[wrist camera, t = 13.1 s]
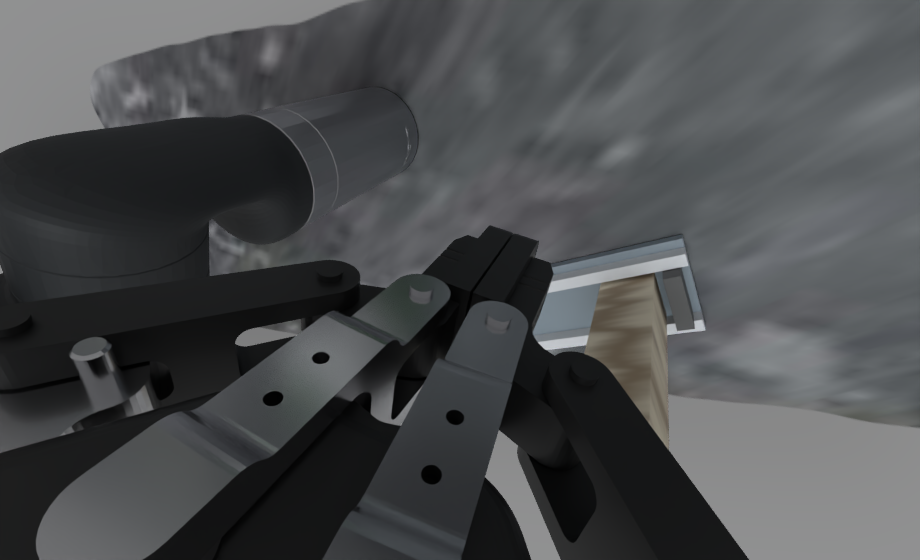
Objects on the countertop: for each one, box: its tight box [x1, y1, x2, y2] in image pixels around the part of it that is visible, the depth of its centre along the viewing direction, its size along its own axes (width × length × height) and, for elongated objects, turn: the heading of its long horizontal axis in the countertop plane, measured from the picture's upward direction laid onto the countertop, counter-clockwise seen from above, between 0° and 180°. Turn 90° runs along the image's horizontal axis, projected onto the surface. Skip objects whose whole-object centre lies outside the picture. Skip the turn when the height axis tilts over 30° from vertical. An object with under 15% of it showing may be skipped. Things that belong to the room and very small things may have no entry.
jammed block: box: [584, 272, 669, 450], centre depth 36 cm, size 5×5×20 cm
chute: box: [533, 234, 706, 350], centre depth 46 cm, size 21×10×4 cm, turn 115°
